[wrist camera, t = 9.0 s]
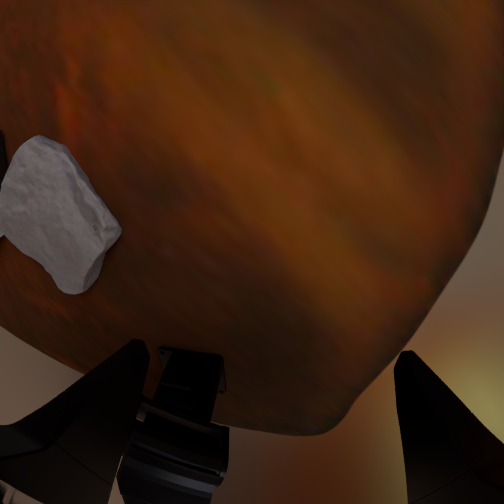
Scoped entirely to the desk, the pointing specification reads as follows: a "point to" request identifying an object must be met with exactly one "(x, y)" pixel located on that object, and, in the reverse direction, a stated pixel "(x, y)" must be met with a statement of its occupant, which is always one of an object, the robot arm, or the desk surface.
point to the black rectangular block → (2, 161)
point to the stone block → (56, 214)
